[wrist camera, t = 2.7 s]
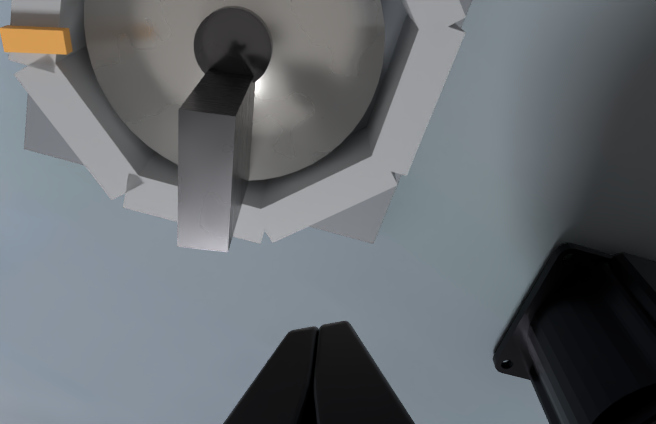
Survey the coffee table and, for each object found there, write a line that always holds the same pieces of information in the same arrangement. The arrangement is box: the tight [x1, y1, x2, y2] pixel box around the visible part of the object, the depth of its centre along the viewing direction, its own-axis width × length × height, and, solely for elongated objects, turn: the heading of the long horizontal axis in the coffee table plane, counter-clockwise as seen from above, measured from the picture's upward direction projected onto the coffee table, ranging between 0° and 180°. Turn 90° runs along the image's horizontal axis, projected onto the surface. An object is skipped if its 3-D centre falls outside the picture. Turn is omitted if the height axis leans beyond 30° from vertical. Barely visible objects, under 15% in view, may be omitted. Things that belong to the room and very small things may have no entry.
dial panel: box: [0, 0, 472, 244], centre depth 17 cm, size 12×12×4 cm
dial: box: [84, 0, 385, 252], centre depth 15 cm, size 8×8×6 cm
